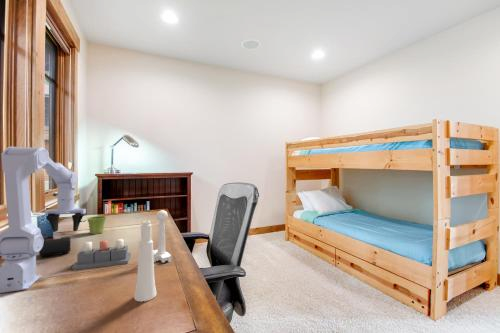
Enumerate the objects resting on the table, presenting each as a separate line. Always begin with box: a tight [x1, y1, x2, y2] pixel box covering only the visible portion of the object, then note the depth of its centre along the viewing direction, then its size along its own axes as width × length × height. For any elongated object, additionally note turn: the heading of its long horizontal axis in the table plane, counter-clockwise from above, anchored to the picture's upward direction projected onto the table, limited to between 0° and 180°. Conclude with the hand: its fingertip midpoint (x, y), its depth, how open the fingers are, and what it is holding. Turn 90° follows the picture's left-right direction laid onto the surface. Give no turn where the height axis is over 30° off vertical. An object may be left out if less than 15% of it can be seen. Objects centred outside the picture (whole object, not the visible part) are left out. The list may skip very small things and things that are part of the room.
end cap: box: [38, 236, 72, 258], centre depth 101 cm, size 10×7×7 cm
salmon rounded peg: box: [99, 239, 109, 252], centre depth 94 cm, size 3×3×5 cm
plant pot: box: [86, 215, 107, 235], centre depth 134 cm, size 9×9×9 cm
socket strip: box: [72, 245, 132, 271], centre depth 94 cm, size 9×18×5 cm, turn 111°
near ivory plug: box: [82, 241, 93, 253], centre depth 92 cm, size 3×3×5 cm
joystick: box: [153, 209, 172, 264], centre depth 97 cm, size 11×8×20 cm
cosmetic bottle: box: [133, 220, 157, 302], centre depth 70 cm, size 6×6×22 cm
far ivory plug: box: [115, 238, 125, 250], centre depth 96 cm, size 3×3×5 cm
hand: (65, 231), depth 101 cm, fingers open, 7 cm apart
